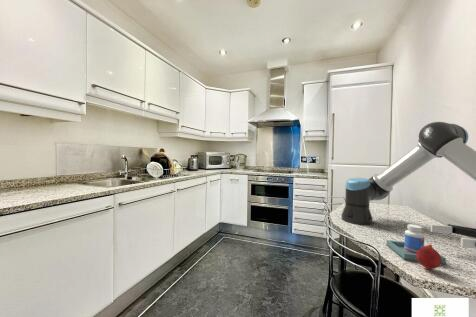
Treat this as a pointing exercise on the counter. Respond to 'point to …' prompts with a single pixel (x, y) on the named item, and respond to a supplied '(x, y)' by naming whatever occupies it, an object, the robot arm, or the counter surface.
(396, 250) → the tray
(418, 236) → the pill bottle
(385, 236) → the counter surface
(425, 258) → the onion
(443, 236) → the counter surface
